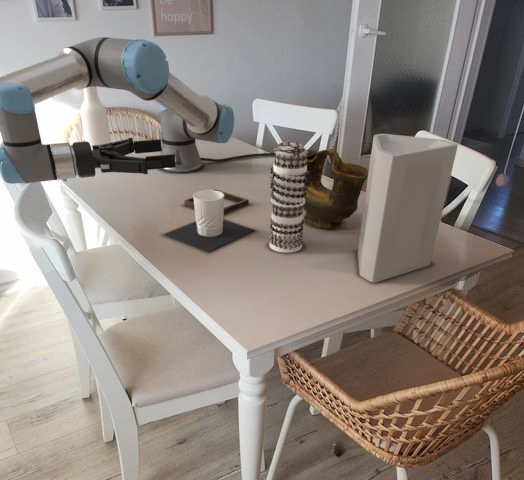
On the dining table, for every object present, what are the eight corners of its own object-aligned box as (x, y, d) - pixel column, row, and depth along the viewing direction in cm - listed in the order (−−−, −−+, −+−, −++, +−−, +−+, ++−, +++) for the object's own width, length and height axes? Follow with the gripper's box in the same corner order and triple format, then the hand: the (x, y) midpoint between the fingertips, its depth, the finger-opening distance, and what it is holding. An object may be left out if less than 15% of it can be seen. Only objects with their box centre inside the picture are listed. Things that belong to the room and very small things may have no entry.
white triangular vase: (388, 242, 135) (408, 129, 119) (431, 264, 125) (459, 144, 109) (332, 258, 127) (345, 139, 111) (372, 283, 117) (394, 156, 100)
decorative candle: (292, 256, 127) (299, 152, 113) (261, 247, 131) (263, 145, 116) (309, 244, 134) (318, 143, 119) (279, 235, 137) (283, 137, 123)
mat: (211, 216, 148) (211, 215, 147) (254, 231, 140) (254, 230, 139) (164, 235, 136) (164, 234, 136) (208, 252, 128) (208, 251, 128)
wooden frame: (215, 194, 163) (215, 189, 162) (248, 204, 156) (248, 199, 155) (184, 205, 154) (184, 200, 153) (218, 217, 147) (217, 211, 146)
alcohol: (83, 164, 185) (67, 70, 167) (102, 158, 191) (88, 67, 173) (100, 169, 181) (85, 73, 163) (119, 163, 187) (106, 70, 169)
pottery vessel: (278, 213, 151) (281, 142, 139) (305, 205, 157) (310, 136, 145) (341, 241, 136) (351, 164, 124) (368, 231, 141) (380, 156, 130)
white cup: (201, 240, 133) (200, 202, 127) (190, 229, 139) (188, 192, 133) (229, 235, 136) (229, 197, 130) (217, 224, 142) (216, 188, 136)
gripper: (72, 162, 127) (157, 154, 134) (84, 195, 108) (182, 184, 115) (66, 129, 122) (154, 124, 129) (77, 158, 104) (180, 150, 111)
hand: (167, 152), depth 122 cm, fingers open, 13 cm apart
